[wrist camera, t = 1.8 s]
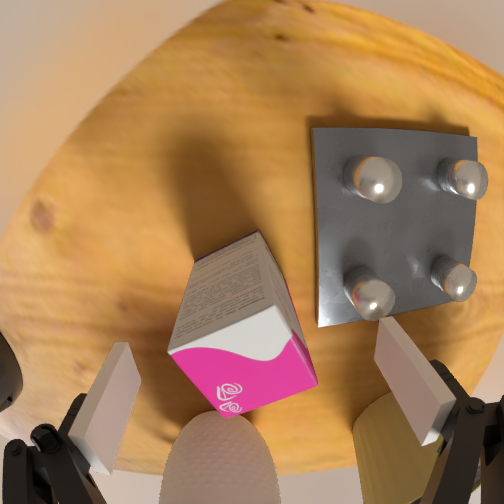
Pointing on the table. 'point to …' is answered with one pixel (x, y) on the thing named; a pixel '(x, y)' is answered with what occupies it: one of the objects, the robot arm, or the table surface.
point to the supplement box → (241, 330)
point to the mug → (219, 464)
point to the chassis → (392, 220)
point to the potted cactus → (393, 455)
